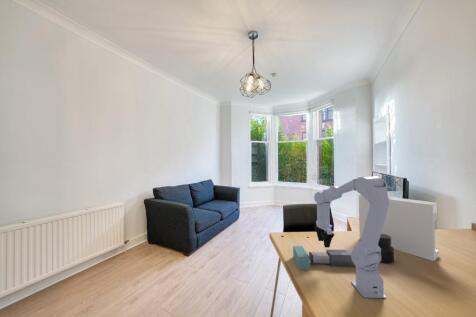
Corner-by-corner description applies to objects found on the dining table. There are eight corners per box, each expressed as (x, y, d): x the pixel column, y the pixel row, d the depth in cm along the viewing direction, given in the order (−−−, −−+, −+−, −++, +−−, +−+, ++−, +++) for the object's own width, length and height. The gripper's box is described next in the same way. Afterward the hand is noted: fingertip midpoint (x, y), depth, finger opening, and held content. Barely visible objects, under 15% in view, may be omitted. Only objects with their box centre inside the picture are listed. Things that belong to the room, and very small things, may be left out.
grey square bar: (349, 263, 95) (349, 256, 95) (311, 263, 96) (311, 255, 96) (345, 260, 98) (345, 252, 98) (308, 259, 99) (308, 252, 99)
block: (359, 238, 128) (358, 195, 128) (365, 235, 132) (364, 193, 133) (433, 261, 98) (432, 204, 99) (438, 256, 103) (437, 202, 103)
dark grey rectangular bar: (361, 267, 93) (361, 255, 93) (331, 266, 94) (330, 254, 94) (355, 261, 99) (354, 249, 99) (326, 260, 100) (326, 249, 100)
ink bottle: (381, 254, 106) (381, 231, 106) (399, 262, 98) (398, 237, 98) (367, 257, 103) (367, 234, 103) (385, 265, 95) (384, 240, 95)
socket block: (309, 269, 91) (309, 257, 92) (299, 269, 92) (298, 256, 92) (302, 257, 103) (302, 246, 104) (293, 257, 104) (293, 246, 104)
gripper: (338, 220, 90) (339, 250, 90) (325, 212, 105) (325, 238, 105) (322, 220, 91) (323, 250, 90) (312, 212, 105) (312, 238, 105)
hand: (323, 243), depth 97 cm, fingers open, 7 cm apart
